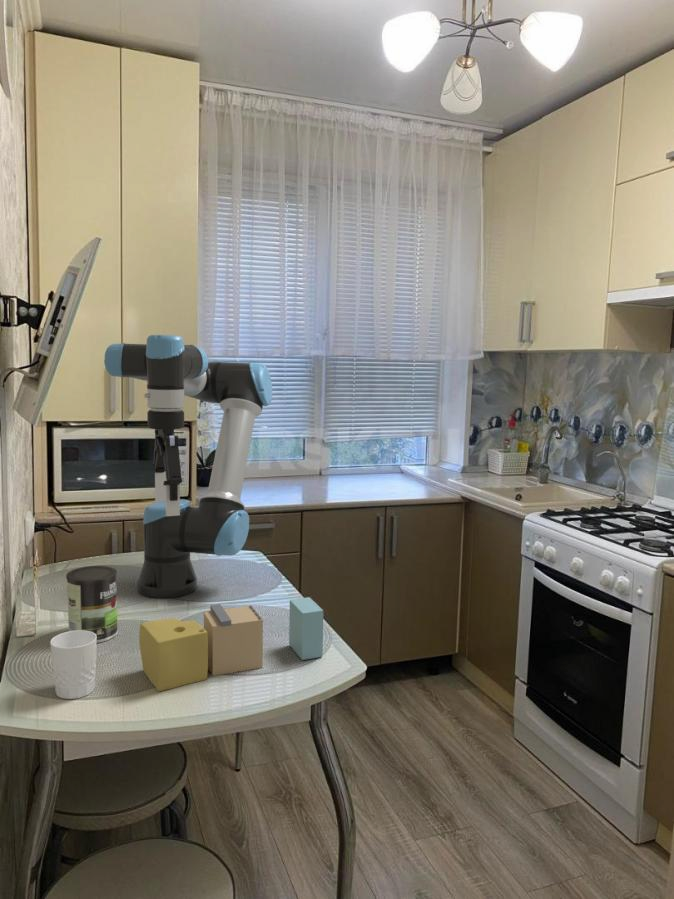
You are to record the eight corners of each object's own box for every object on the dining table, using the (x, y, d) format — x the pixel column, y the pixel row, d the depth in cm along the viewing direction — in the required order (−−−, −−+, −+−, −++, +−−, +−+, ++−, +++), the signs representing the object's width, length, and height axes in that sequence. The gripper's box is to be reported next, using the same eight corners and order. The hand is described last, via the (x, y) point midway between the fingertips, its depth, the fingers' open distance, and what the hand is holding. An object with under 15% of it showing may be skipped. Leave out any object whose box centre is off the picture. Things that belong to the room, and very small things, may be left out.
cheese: (190, 659, 139) (189, 612, 138) (210, 681, 130) (210, 631, 129) (139, 670, 133) (138, 622, 132) (156, 694, 124) (156, 642, 123)
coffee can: (126, 627, 154) (125, 567, 151) (102, 646, 144) (100, 582, 141) (85, 623, 156) (83, 563, 154) (58, 641, 146) (56, 578, 144)
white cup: (91, 700, 122) (89, 647, 120) (45, 701, 121) (43, 648, 120) (102, 679, 129) (101, 629, 128) (60, 680, 129) (58, 630, 127)
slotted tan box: (203, 657, 140) (203, 606, 138) (250, 649, 144) (250, 600, 142) (213, 677, 131) (213, 622, 130) (263, 668, 135) (263, 616, 134)
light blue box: (289, 644, 146) (289, 599, 145) (308, 641, 148) (309, 597, 147) (302, 660, 139) (302, 613, 138) (322, 656, 141) (323, 610, 139)
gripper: (139, 404, 153) (140, 497, 156) (157, 415, 130) (158, 523, 133) (173, 404, 156) (174, 495, 159) (196, 414, 133) (197, 520, 136)
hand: (167, 508), depth 146 cm, fingers open, 13 cm apart
